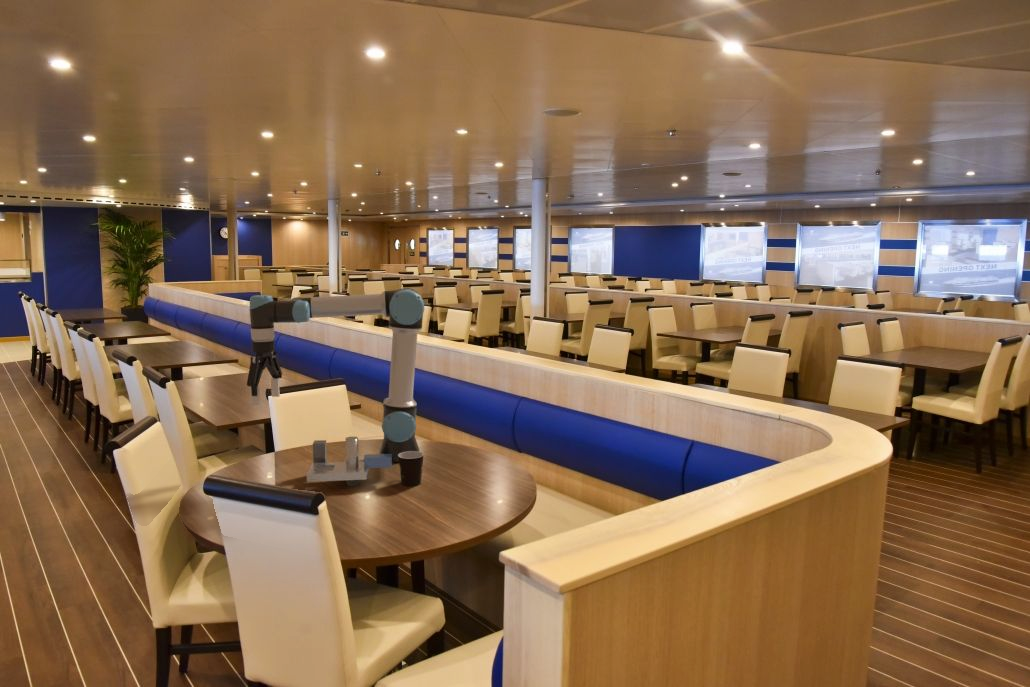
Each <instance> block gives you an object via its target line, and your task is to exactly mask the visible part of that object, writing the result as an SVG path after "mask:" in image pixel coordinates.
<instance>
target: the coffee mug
mask: <svg viewBox="0 0 1030 687" xmlns="http://www.w3.org/2000/svg"><path fill="white" fill-rule="evenodd" d="M424 456H425V455H424V452H422V451H420V452H418V451H407V452H402V453H400V454H398V460H399V462H398V466H399V472H400V481H401V485H402V486H403V487H409V488H410V487H417V486H419V485H420V486H421V484H422V476H423V475H422V474H423V467H424V465H423V464H424Z"/></svg>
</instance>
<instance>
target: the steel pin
mask: <svg viewBox="0 0 1030 687" xmlns="http://www.w3.org/2000/svg"><path fill="white" fill-rule="evenodd" d="M312 456H313V457H312V459H313V460H312V461H313V462H312V463H328V456H327V439H325V440H324V439H320V440H319V439H318V440H314V441H313V442H312Z"/></svg>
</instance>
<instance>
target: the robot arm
mask: <svg viewBox="0 0 1030 687" xmlns="http://www.w3.org/2000/svg"><path fill="white" fill-rule="evenodd" d="M424 312H425V302H424V300H423V297H422V296H421V294H420V292H418V291H417V290H415V289H413V288H411V287H405V288H404V287H403V288H399V289H393V290H384V291H382V293H377V294H375V293H374V294H355V295H354V294H353V295H352V294H351V295H335V296H332V295H330V296H315V297H314V296H313V297H312V296H311V297H301V296H298V297H296V296H295V297H293V298H290V300H274V299H273V296H272V295H269V294H260V295H257V294H256V295H252V296H250V297H249V318H250V335H251V337H250V338H251V352H253V353H255V356H251V357H250V365H249V371H248V375H247V380H246V385H247V387H250V388H251V389H250V390H251V391H250V392H251V406H261V404H262V403H261V388H260V387H261V386H259V383H260V381H261V377H262V374H263V372H264V370H265V369H267V371H268V373H269V374H270V377H271V378H270V389H271V391H270V392H271V397H272V398H279V397H280V396H281V394H280V392H281V391H280V379H282V377H283V372H282V369H281V366H280V365H281V364H280V362H279V359H278V354H277V351H276V345H275V344H276V342H275V338H276V337H275V323H277V324H279V323H281V324H282V323H285V324H286V323H288V324H289V323H297V324H300V323H308V322H309V320H310V319H317V318H319V319H320V318H336V317H337V318H338V317H341V318H342V317H355V316H356V317H357V316H358V317H359V316H360V317H361V316H377V315H379V316H380V315H382V316H383V317H385V318H388V319H389V320H388V327H389V329H390V330H391V331H392V341H391V356H390V357H391V358H390V370H389V385H388V386H389V387H388V397H386V398H384V399H383V404H382V407H383V411H382V412H383V414H382V415H383V416H382V423H381V429H382V432H383V440H382V442H381V446H380V448H379V454H392V463H399V460H398V454H400V453H402V452H407V451H418V452H421V451H420V446H419V444H418V441H417V437H416V430H417V423H416V422H417V421H416V418H417V407H418V406H417V405H418V404H417V401H416V400H415V399H414V387H415V386H414V385H415V372H416V359H417V358H416V357H417V344H418V342H417V341H418V333H419V332H421V331H422V329H423V320H424V318H423V316H424Z"/></svg>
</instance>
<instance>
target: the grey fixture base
mask: <svg viewBox="0 0 1030 687" xmlns="http://www.w3.org/2000/svg"><path fill="white" fill-rule="evenodd" d="M392 465H393V462H392V454H380V453H377V454H375V453H373V454H371V453H370V454H364V457H363V461H362V460H360V461H359V438H358V436H347V437H345V461H336V462H327V463H313V462H312V463H311V465H310V467H309V469H308V470H307V473H306V482H314V483H315V482H334V481H335V482H336V481H346V486H348V487H356V486H358V485H359V484H360V481H363V480H367V479H368V474H369V469H381V468H382V469H383V468H384V469H385V468H392Z"/></svg>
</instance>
